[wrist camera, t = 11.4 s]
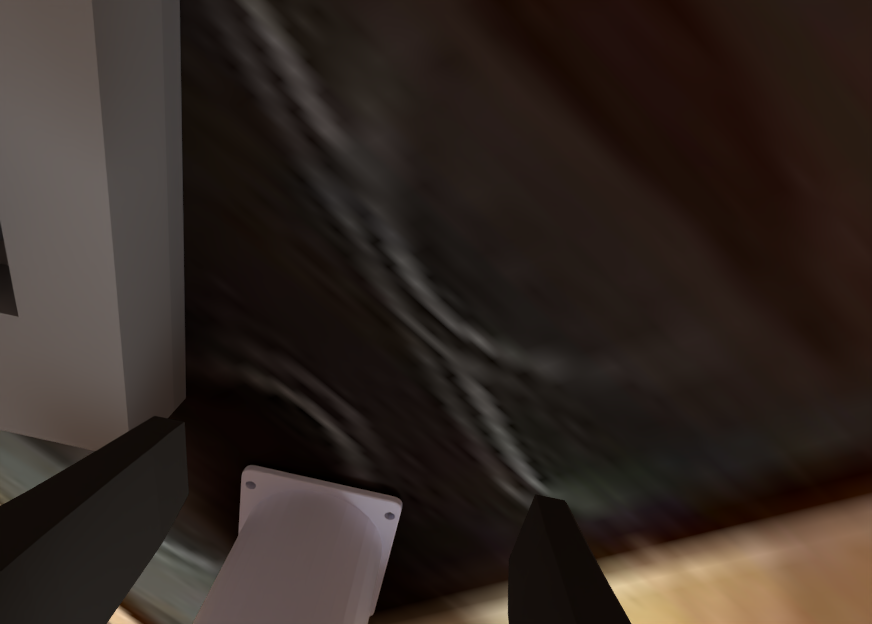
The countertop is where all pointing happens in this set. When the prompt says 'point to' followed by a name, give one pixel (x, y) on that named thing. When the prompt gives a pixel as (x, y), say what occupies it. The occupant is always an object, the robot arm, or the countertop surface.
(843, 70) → the countertop surface
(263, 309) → the countertop surface
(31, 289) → the foam packaging insert
